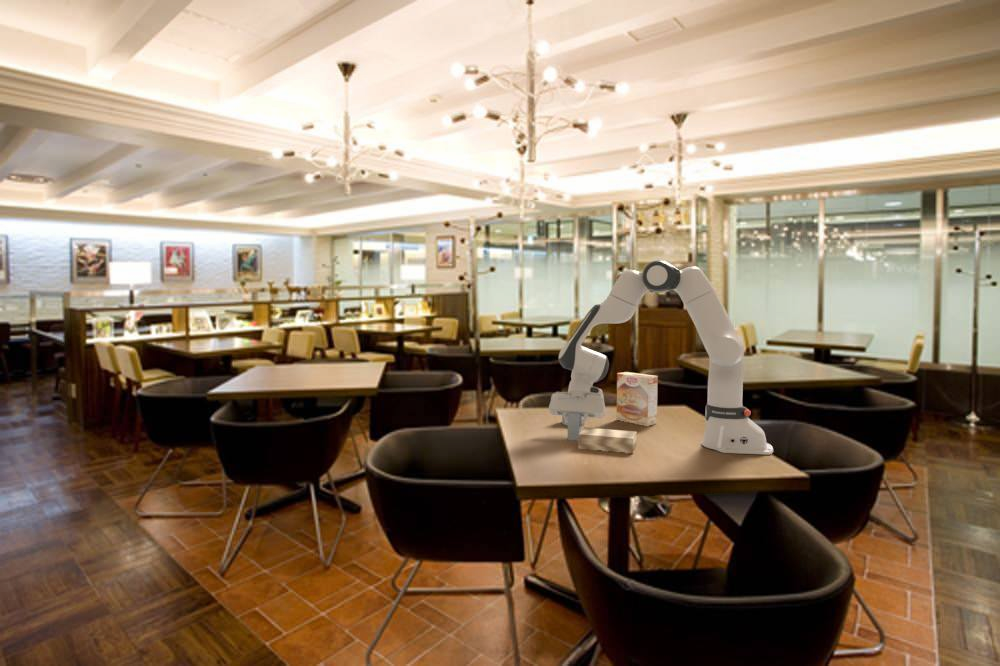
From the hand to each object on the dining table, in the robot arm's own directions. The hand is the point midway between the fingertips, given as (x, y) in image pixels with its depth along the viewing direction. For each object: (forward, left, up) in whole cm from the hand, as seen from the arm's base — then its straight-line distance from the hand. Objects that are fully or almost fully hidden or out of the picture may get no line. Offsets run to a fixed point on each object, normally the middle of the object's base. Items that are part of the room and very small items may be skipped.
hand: (573, 425), depth 205 cm
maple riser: (-13, +6, -5) cm, 15 cm away
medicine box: (+6, -25, -5) cm, 26 cm away
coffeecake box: (-18, -36, -5) cm, 40 cm away
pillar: (0, -1, -5) cm, 5 cm away
